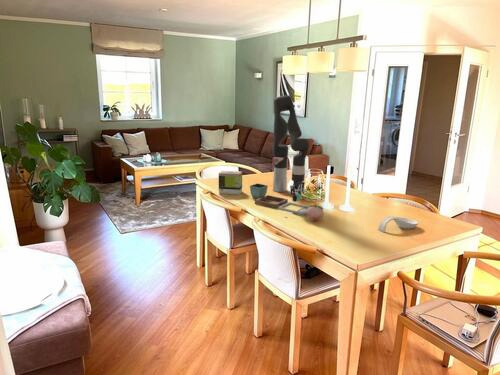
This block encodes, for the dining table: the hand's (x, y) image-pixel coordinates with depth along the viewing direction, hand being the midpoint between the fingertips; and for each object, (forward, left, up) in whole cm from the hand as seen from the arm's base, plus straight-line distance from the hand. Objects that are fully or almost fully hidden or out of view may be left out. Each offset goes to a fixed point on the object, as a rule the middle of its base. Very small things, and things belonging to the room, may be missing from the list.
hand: (296, 200), depth 222 cm
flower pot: (-6, -32, -7) cm, 33 cm away
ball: (0, 0, 0) cm, 0 cm away
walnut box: (0, -18, -6) cm, 19 cm away
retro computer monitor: (-6, -56, -7) cm, 56 cm away
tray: (0, 0, -6) cm, 6 cm away
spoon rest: (-8, +57, -7) cm, 58 cm away
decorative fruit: (+10, +17, -7) cm, 21 cm away
